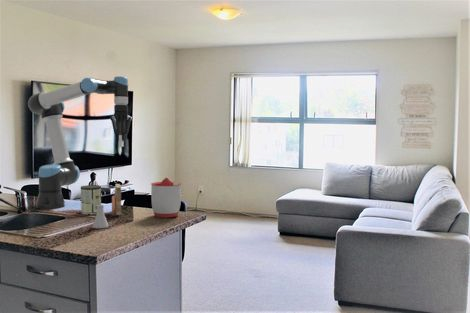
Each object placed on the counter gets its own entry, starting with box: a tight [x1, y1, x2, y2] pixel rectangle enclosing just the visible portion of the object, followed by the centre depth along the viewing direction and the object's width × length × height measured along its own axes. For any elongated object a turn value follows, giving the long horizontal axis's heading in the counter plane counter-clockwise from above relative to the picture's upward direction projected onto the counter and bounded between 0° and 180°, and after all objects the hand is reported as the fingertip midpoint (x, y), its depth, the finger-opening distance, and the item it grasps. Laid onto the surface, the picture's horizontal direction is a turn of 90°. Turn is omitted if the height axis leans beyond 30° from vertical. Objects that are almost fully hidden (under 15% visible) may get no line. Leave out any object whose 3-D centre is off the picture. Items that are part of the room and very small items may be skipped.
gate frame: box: [111, 195, 117, 217], centre depth 243 cm, size 15×3×12 cm, turn 6°
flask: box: [92, 204, 109, 229], centre depth 210 cm, size 7×7×10 cm
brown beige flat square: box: [114, 183, 122, 216], centre depth 240 cm, size 15×2×14 cm, turn 17°
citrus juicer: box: [150, 177, 183, 219], centre depth 237 cm, size 16×17×20 cm
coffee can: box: [80, 184, 102, 215], centre depth 242 cm, size 10×10×14 cm
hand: (121, 146), depth 258 cm, fingers closed
